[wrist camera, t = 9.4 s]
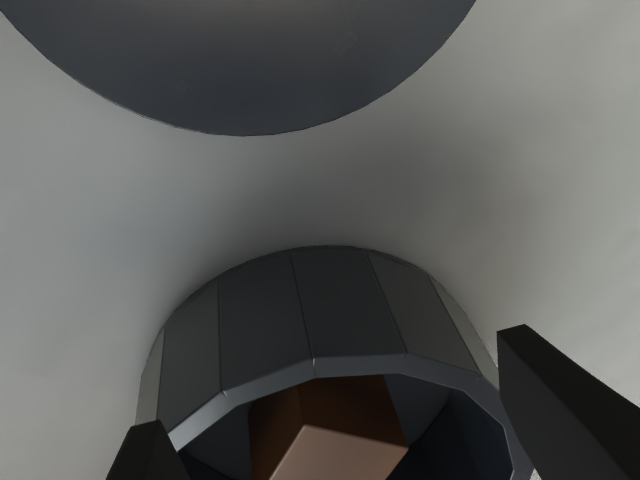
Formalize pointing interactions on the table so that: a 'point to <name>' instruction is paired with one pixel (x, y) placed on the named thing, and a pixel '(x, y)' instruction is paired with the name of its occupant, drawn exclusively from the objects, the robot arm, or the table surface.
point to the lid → (238, 55)
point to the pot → (329, 362)
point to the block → (326, 431)
